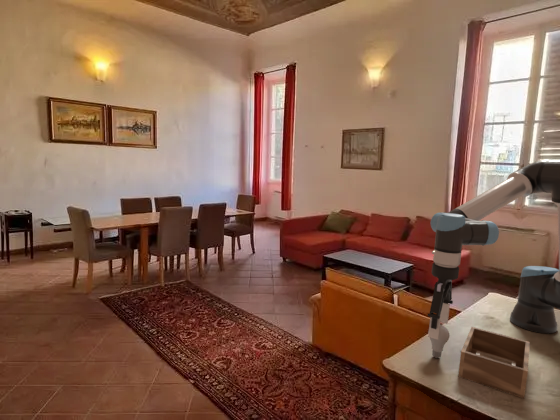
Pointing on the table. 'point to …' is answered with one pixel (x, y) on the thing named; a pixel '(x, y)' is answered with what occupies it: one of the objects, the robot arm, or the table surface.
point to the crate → (495, 361)
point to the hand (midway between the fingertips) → (438, 329)
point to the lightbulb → (439, 341)
